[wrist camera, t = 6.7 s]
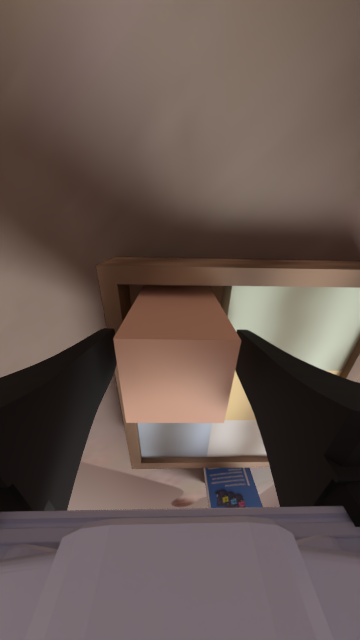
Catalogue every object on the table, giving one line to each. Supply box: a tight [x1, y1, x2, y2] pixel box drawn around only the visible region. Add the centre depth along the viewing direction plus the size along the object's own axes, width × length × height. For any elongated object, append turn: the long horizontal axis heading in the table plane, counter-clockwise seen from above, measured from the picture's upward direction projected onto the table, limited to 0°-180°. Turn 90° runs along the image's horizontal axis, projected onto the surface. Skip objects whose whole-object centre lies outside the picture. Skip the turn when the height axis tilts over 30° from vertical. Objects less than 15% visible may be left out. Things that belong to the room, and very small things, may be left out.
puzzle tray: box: [96, 257, 360, 469], centre depth 16 cm, size 18×20×4 cm
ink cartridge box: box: [203, 468, 262, 508], centre depth 19 cm, size 10×6×14 cm, turn 7°
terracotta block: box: [113, 285, 241, 423], centre depth 11 cm, size 5×5×7 cm
